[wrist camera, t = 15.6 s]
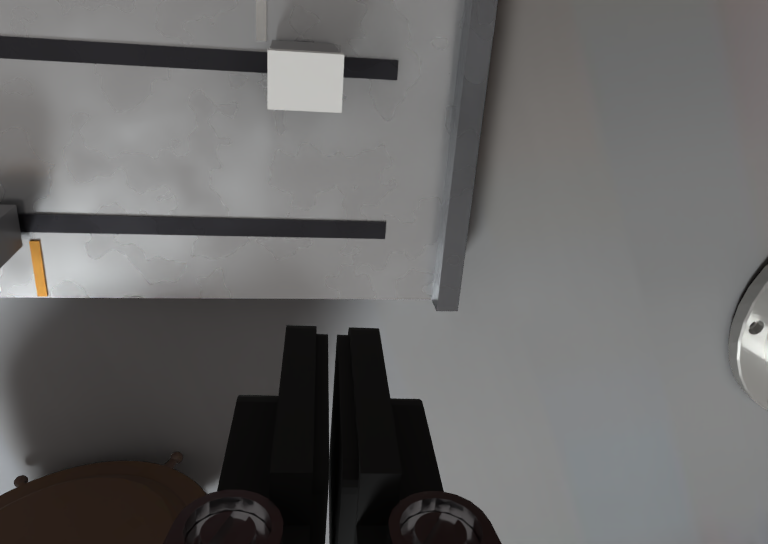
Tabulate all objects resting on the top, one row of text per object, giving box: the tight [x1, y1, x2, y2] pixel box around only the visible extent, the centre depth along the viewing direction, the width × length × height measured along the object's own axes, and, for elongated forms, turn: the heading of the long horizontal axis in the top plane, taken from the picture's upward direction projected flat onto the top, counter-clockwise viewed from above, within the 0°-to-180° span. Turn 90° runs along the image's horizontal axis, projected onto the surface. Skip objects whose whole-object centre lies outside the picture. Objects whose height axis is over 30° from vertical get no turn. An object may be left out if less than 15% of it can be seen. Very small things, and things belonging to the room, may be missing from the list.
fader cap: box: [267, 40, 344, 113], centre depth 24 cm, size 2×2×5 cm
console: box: [0, 0, 498, 311], centre depth 27 cm, size 26×14×3 cm, turn 86°
